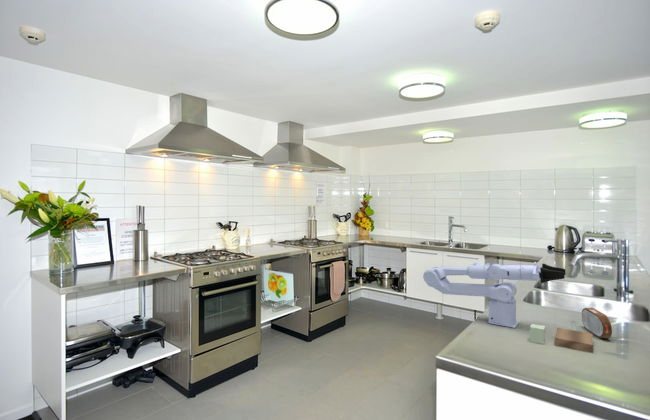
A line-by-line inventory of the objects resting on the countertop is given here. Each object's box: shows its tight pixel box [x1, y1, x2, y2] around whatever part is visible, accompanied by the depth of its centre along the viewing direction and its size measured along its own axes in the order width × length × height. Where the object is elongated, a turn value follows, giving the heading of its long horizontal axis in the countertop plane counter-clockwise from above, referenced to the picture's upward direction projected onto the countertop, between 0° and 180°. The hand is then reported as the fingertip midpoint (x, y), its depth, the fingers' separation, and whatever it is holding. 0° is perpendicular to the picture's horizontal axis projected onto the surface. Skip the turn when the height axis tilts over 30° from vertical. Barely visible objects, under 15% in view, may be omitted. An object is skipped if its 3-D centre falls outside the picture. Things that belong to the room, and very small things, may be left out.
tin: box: [581, 307, 613, 339], centre depth 127 cm, size 15×3×8 cm, turn 168°
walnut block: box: [554, 327, 594, 354], centre depth 118 cm, size 10×12×3 cm
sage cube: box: [529, 323, 546, 345], centre depth 120 cm, size 4×4×5 cm
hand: (564, 273), depth 126 cm, fingers open, 7 cm apart
